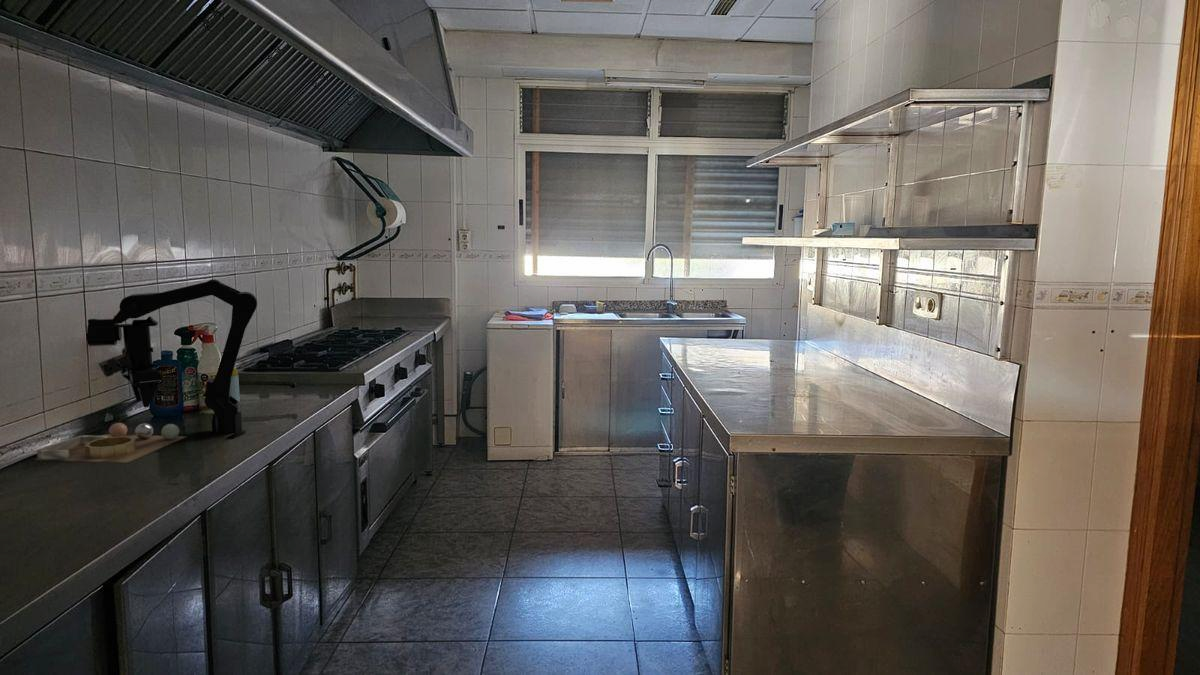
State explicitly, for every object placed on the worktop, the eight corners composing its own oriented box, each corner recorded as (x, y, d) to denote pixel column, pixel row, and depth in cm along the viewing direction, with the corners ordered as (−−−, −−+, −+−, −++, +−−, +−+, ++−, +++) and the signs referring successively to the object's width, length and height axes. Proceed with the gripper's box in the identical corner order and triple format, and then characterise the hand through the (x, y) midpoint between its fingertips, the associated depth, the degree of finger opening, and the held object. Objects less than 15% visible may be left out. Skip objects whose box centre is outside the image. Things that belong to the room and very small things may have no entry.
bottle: (223, 409, 227) (220, 361, 225) (210, 406, 231) (207, 359, 229) (244, 405, 233) (241, 358, 231) (231, 402, 237) (229, 356, 235)
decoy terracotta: (131, 436, 191) (130, 421, 191) (120, 440, 187) (119, 425, 187) (117, 435, 192) (115, 420, 191) (105, 439, 188) (104, 424, 187)
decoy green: (183, 437, 191) (182, 422, 190) (173, 441, 187) (172, 426, 186) (168, 437, 191) (167, 422, 190) (158, 441, 187) (157, 425, 186)
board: (187, 440, 192) (186, 429, 191) (127, 467, 169) (126, 453, 169) (104, 438, 193) (103, 426, 193) (34, 464, 171) (33, 451, 170)
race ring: (145, 446, 182) (144, 436, 182) (116, 458, 172) (115, 448, 172) (106, 445, 182) (105, 435, 182) (75, 457, 173) (74, 447, 172)
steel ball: (157, 436, 191) (156, 421, 190) (147, 440, 187) (145, 425, 186) (142, 436, 191) (141, 421, 191) (132, 440, 187) (130, 425, 187)
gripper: (94, 342, 187) (99, 402, 190) (105, 351, 174) (111, 415, 176) (144, 339, 195) (149, 396, 197) (159, 347, 181) (164, 408, 183)
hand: (142, 404), depth 188 cm, fingers open, 9 cm apart
